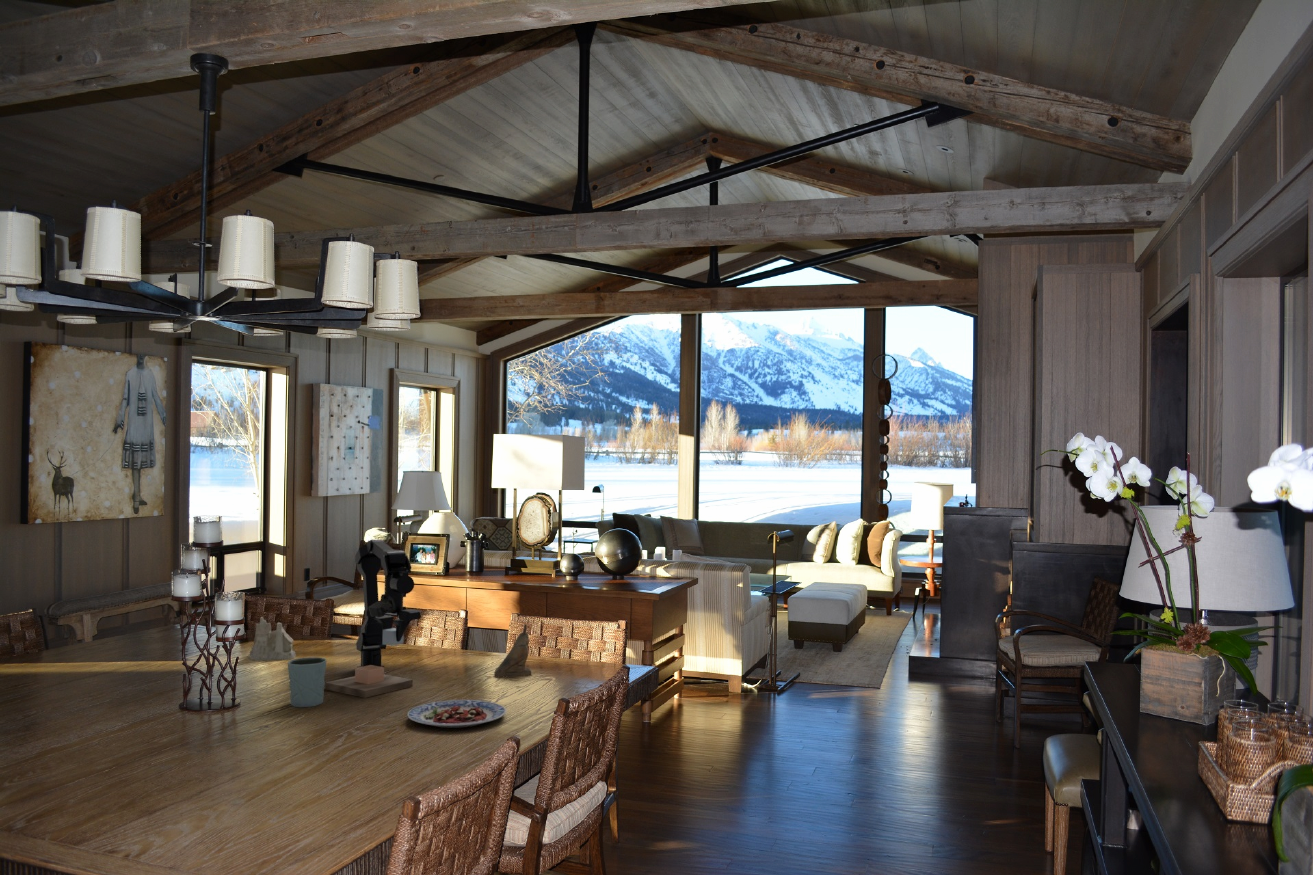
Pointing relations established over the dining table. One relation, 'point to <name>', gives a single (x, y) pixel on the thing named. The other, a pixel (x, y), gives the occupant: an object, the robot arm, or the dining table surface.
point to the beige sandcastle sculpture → (271, 643)
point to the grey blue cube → (391, 637)
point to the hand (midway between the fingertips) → (392, 640)
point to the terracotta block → (369, 674)
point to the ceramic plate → (456, 713)
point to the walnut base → (368, 686)
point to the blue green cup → (307, 681)
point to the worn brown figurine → (515, 659)
